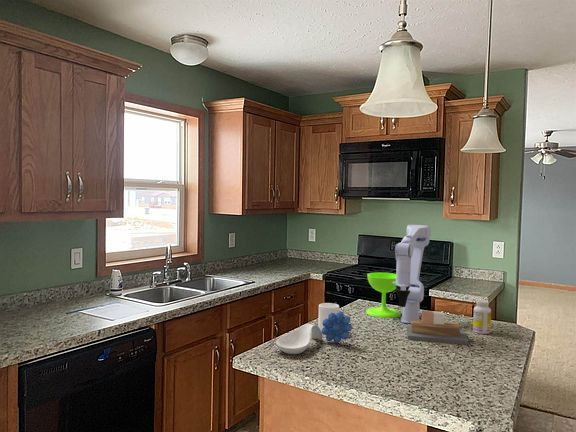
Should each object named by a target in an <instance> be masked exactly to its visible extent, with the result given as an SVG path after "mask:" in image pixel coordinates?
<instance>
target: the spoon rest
mask: <svg viewBox="0 0 576 432" xmlns="http://www.w3.org/2000/svg"><path fill="white" fill-rule="evenodd" d="M312 339H315V340H319V341H323V334H322V332H321V330H320V328H319V327H318V325H316V324H311V323H305V324H303V325H301V326H299V327H298V328H296V329H294V330H292V331H290V332H289V333H287V334H285V335H283V336H281V337H279V338H277V340H276V341H275V344H276V346H277V348H278V349H279V350H280V351H281V352H284V353H285V354H288V355H299V354H301V353H303V352H304V351H306V350H307V349H308V347H309V346H310V343H311V340H312Z"/></svg>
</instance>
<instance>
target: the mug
mask: <svg viewBox="0 0 576 432" xmlns="http://www.w3.org/2000/svg"><path fill="white" fill-rule="evenodd" d="M338 312H340V305H339V304H336V303H332V302H322V303H320V304H318V322H317V324H318V325H317V326H318V327H319V328H320V330H321V333H322V329H323V328H324V326H323V320H325V319H328V315H329V314H330V313H335V314H337V313H338Z"/></svg>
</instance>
